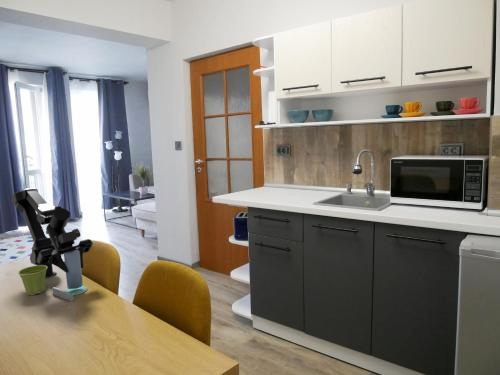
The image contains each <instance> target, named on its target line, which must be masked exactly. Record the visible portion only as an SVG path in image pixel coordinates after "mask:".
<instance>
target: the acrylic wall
mask: <svg viewBox="0 0 500 375" xmlns="http://www.w3.org/2000/svg"><path fill="white" fill-rule="evenodd" d="M51 290H52V295H54V296H57V297H60V298H62V299H65V300H67V301H70V302H73V301H75V299H74V295H73V293H70V292H67V291H65V290H64V289H62V288H58V287H55V286H53V287H52V288H51Z"/></svg>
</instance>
